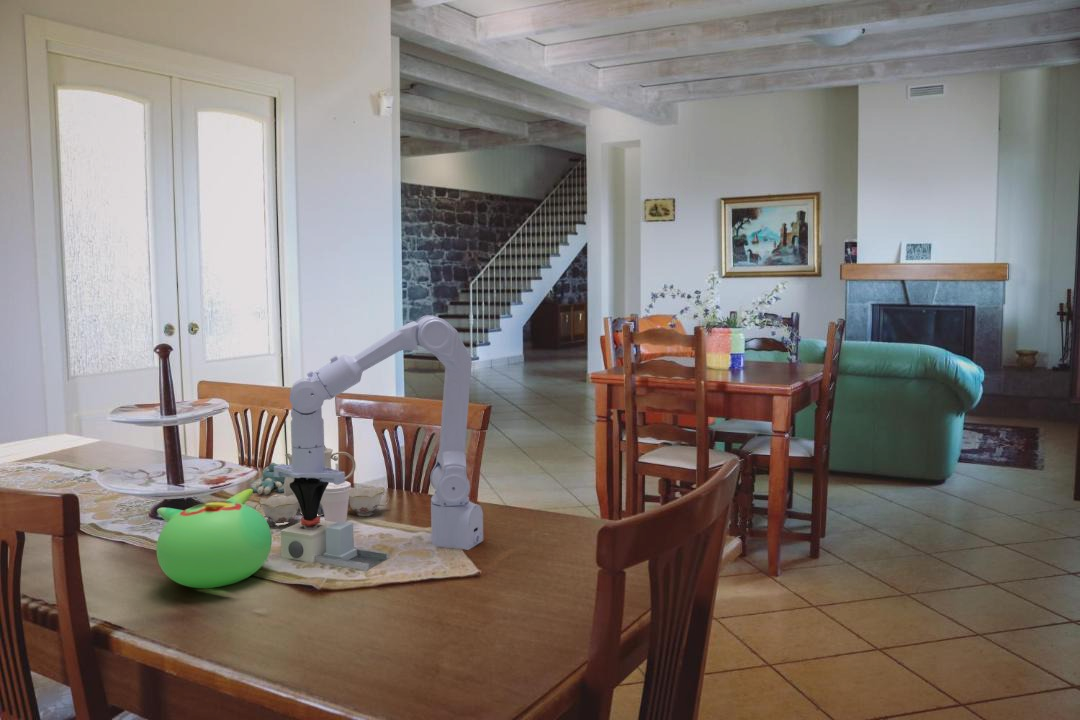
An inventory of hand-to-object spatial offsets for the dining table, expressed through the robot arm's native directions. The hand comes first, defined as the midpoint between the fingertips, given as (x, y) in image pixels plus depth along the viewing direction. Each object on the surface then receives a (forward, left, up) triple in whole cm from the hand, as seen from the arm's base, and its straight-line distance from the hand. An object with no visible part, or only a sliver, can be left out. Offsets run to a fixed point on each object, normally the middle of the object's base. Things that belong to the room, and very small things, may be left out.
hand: (310, 518), depth 153 cm
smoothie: (+6, -15, -8) cm, 18 cm away
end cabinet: (0, 0, -8) cm, 8 cm away
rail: (-9, 0, -8) cm, 12 cm away
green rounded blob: (+7, +16, -8) cm, 19 cm away
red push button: (0, 0, -5) cm, 5 cm away
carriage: (-6, 0, -6) cm, 9 cm away
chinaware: (+16, -23, -8) cm, 29 cm away
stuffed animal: (+40, -35, -8) cm, 54 cm away
